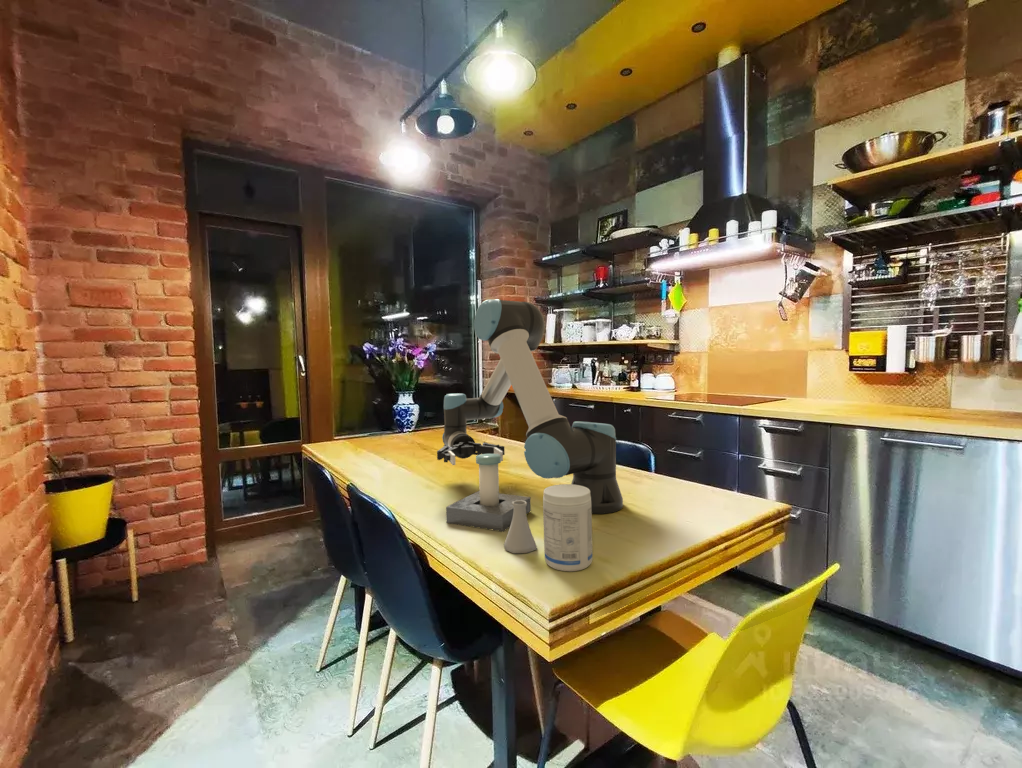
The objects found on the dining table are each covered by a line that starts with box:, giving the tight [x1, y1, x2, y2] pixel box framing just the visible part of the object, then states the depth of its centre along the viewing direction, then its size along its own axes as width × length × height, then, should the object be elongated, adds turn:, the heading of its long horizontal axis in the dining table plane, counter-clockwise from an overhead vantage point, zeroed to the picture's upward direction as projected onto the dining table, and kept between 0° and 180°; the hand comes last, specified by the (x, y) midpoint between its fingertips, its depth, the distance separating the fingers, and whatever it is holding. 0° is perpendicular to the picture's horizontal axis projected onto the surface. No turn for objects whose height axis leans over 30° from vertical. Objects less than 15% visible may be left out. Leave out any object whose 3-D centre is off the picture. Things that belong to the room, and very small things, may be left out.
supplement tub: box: [542, 483, 593, 572], centre depth 95 cm, size 10×10×15 cm
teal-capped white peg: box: [475, 454, 502, 507], centre depth 123 cm, size 6×6×16 cm
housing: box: [445, 490, 532, 532], centre depth 123 cm, size 16×16×4 cm
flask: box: [503, 500, 538, 554], centre depth 103 cm, size 7×7×10 cm
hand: (478, 458), depth 132 cm, fingers open, 13 cm apart
